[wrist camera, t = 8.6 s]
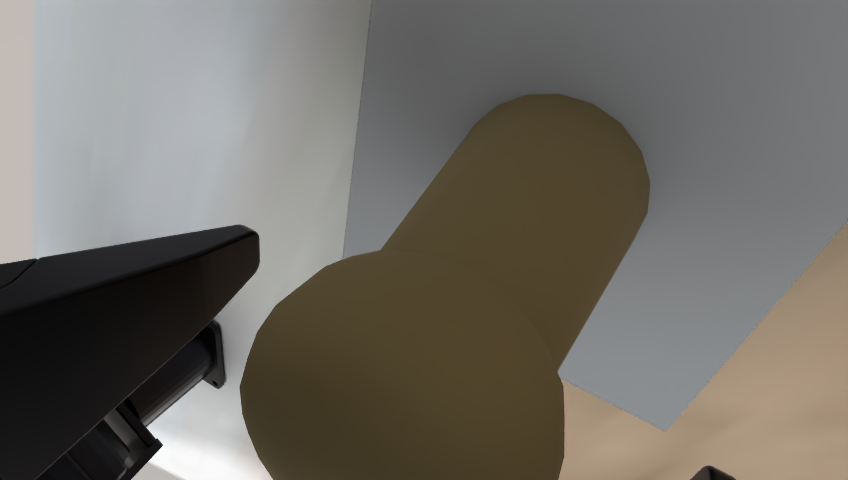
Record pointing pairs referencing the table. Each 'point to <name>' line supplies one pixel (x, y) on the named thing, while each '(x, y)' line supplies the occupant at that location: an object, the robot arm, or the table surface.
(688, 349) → the plinth
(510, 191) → the cork
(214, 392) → the table surface
